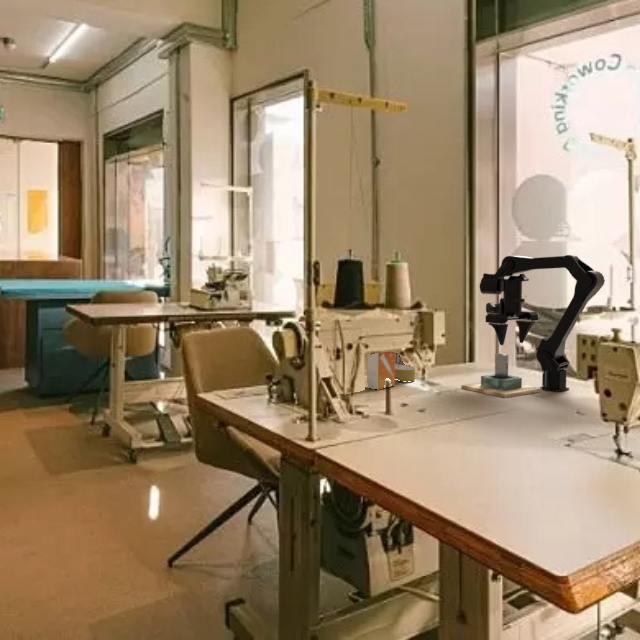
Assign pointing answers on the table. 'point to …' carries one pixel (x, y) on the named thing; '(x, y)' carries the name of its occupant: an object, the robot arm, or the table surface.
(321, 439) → the table surface
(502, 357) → the steel pin
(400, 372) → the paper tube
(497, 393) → the socket board
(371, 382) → the small box
